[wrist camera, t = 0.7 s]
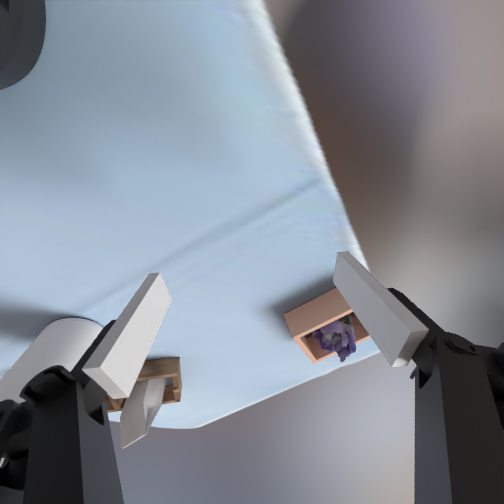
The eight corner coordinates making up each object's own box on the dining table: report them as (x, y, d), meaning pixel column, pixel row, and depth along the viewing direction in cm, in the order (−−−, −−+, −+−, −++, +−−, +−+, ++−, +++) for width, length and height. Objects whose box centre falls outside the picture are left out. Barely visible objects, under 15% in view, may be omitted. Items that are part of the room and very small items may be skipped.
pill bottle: (44, 343, 28) (-85, 505, 16) (49, 310, 25) (-104, 477, 13) (103, 350, 32) (35, 488, 19) (114, 321, 29) (42, 463, 16)
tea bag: (131, 381, 39) (110, 448, 30) (152, 366, 37) (135, 432, 29) (147, 385, 40) (131, 449, 32) (167, 371, 39) (156, 434, 31)
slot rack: (57, 403, 37) (45, 424, 35) (29, 372, 31) (11, 395, 28) (182, 386, 43) (180, 403, 41) (180, 357, 37) (177, 375, 34)
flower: (379, 318, 31) (348, 369, 29) (366, 324, 38) (340, 365, 36) (328, 286, 35) (298, 328, 34) (325, 297, 43) (300, 332, 41)
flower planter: (283, 314, 36) (292, 337, 32) (348, 281, 34) (367, 301, 30) (303, 341, 43) (313, 363, 39) (358, 315, 41) (375, 335, 37)
